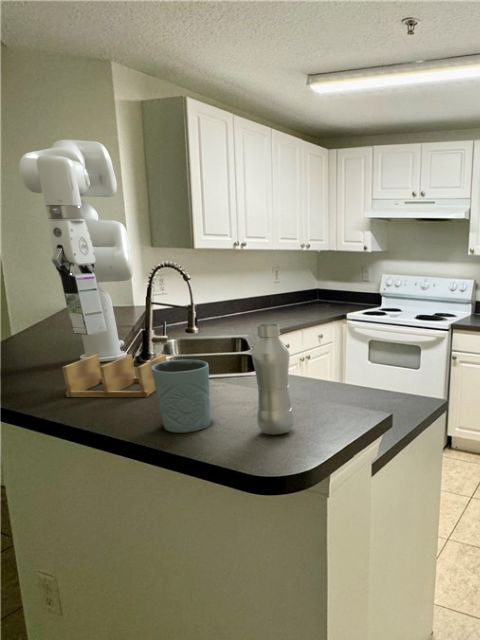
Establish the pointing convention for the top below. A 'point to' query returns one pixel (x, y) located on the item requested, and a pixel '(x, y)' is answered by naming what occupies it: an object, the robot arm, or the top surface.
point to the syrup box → (85, 307)
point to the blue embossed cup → (183, 394)
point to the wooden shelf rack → (109, 377)
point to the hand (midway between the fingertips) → (80, 291)
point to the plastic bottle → (272, 381)
